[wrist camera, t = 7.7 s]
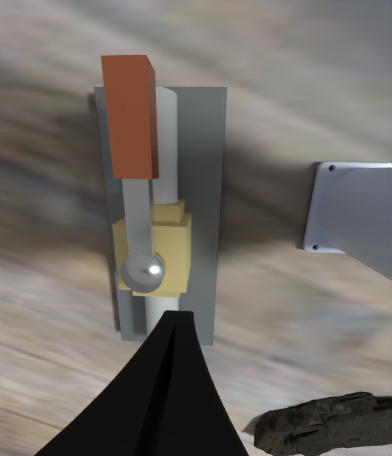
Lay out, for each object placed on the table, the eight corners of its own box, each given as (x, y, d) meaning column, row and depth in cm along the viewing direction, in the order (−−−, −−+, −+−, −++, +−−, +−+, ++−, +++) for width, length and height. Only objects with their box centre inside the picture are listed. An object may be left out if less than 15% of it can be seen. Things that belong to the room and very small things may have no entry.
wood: (434, 378, 23) (467, 409, 20) (429, 422, 25) (460, 456, 22) (243, 399, 25) (248, 429, 22) (253, 437, 27) (258, 470, 24)
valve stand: (225, 93, 15) (237, 43, 9) (212, 336, 22) (214, 398, 16) (102, 93, 16) (37, 44, 10) (126, 331, 23) (96, 390, 17)
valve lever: (167, 283, 13) (162, 296, 12) (129, 281, 13) (120, 294, 12) (160, 72, 10) (153, 54, 8) (110, 72, 10) (94, 55, 8)
